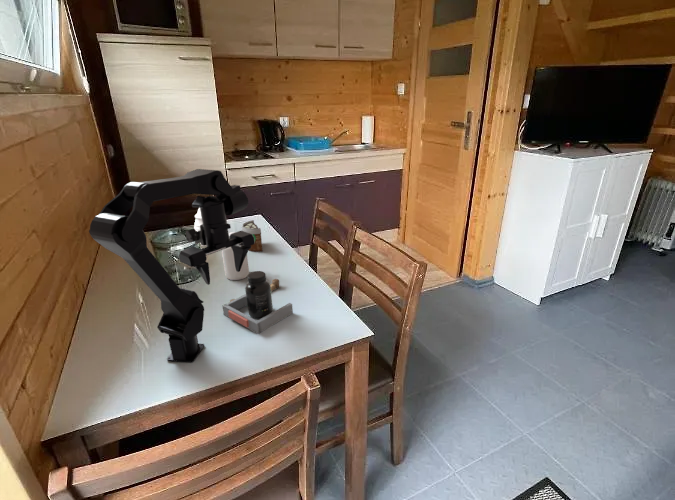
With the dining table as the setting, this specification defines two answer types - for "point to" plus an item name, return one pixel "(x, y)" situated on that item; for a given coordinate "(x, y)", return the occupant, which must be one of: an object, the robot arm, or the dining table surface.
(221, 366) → the dining table surface
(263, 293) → the supplement bottle
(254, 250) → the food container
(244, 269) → the pill bottle
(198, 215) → the honey pot
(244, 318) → the bay
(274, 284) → the rail
